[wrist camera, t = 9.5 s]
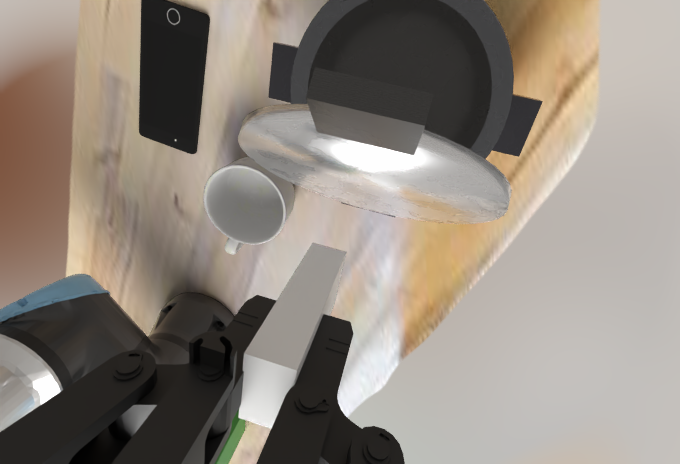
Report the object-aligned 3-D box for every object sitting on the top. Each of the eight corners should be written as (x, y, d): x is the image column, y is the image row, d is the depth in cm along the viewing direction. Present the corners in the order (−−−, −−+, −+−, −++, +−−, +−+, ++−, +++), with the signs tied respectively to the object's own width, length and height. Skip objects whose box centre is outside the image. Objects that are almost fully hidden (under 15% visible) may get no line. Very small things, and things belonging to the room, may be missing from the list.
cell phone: (212, 15, 44) (207, 14, 43) (197, 154, 53) (194, 155, 52) (146, -7, 45) (141, -8, 44) (143, 133, 53) (138, 135, 52)
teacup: (254, 133, 49) (225, 146, 42) (318, 183, 50) (300, 203, 43) (212, 206, 56) (181, 228, 49) (269, 248, 57) (247, 276, 50)
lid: (279, 177, 39) (275, 190, 39) (152, 28, 16) (141, 59, 16) (465, 225, 37) (461, 239, 37) (629, 134, 14) (621, 172, 14)
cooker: (290, 158, 50) (256, 183, 40) (315, -38, 39) (278, -68, 30) (473, 205, 47) (485, 243, 37) (551, 7, 37) (595, -10, 27)
